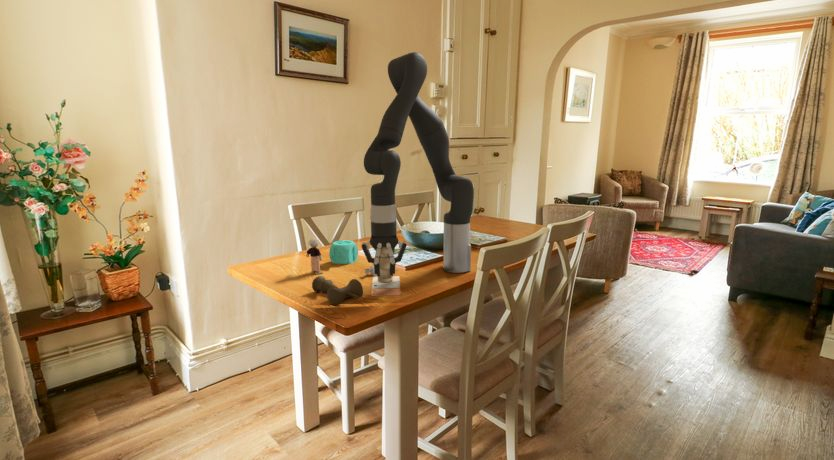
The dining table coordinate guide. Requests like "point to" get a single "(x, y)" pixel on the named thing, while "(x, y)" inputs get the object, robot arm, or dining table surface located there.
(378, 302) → the dining table surface
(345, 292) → the kendama
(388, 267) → the pawn
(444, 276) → the dining table surface
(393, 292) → the board
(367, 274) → the soldier figure
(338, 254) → the decorative dice
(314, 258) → the grandmother figurine
